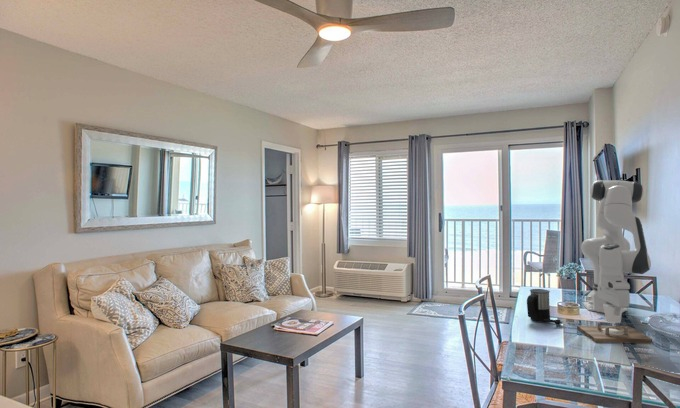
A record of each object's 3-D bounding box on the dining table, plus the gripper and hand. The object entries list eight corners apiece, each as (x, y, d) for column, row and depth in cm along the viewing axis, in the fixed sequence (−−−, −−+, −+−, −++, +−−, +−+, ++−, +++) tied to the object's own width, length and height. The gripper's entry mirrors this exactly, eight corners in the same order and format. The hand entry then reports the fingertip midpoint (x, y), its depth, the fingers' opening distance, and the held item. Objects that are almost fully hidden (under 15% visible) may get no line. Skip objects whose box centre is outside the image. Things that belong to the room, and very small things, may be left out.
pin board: (577, 329, 192) (576, 319, 192) (628, 329, 189) (628, 319, 189) (594, 342, 175) (594, 331, 175) (652, 342, 171) (652, 331, 171)
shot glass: (625, 323, 177) (625, 307, 177) (608, 323, 179) (607, 306, 179) (618, 319, 184) (617, 303, 184) (601, 318, 186) (600, 303, 186)
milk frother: (533, 316, 215) (532, 287, 215) (567, 321, 205) (566, 291, 205) (525, 323, 204) (524, 293, 204) (560, 328, 194) (559, 296, 194)
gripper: (592, 277, 192) (594, 307, 192) (615, 286, 172) (617, 319, 172) (607, 277, 191) (608, 307, 191) (632, 285, 171) (633, 319, 171)
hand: (613, 313), depth 181 cm, fingers closed on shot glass, 5 cm apart
